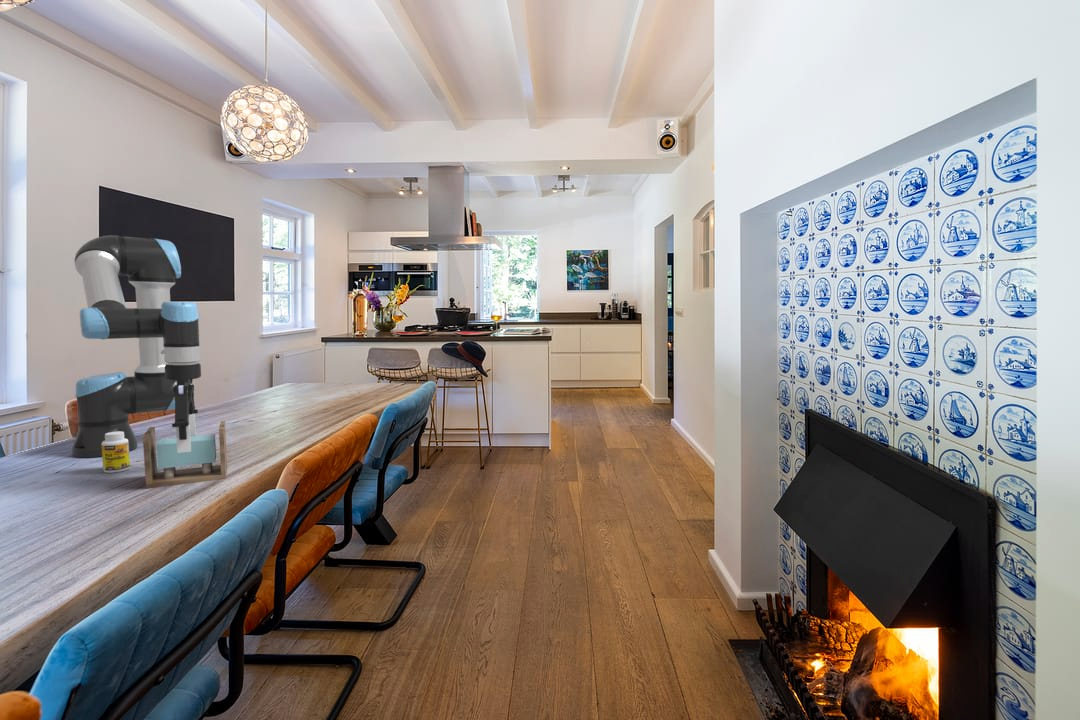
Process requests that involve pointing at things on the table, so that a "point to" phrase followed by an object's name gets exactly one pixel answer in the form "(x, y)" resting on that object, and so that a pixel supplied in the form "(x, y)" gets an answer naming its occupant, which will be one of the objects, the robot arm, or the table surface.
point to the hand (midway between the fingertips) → (187, 445)
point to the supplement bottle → (115, 452)
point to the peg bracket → (184, 475)
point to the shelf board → (200, 452)
